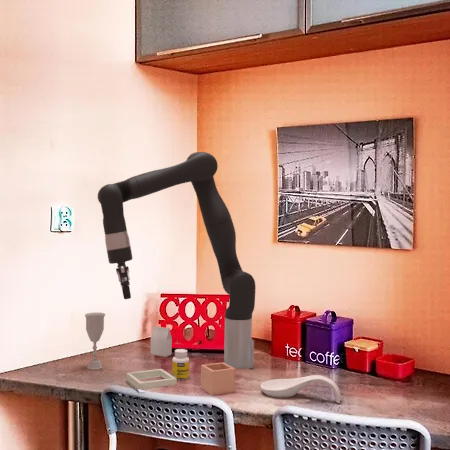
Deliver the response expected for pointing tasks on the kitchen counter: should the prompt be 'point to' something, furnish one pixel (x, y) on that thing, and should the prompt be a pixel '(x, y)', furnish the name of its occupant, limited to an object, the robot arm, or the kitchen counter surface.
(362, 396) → the kitchen counter surface
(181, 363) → the supplement bottle
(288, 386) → the spoon rest
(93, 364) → the chalice
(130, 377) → the tray
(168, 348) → the tea bag
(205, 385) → the tan open box
